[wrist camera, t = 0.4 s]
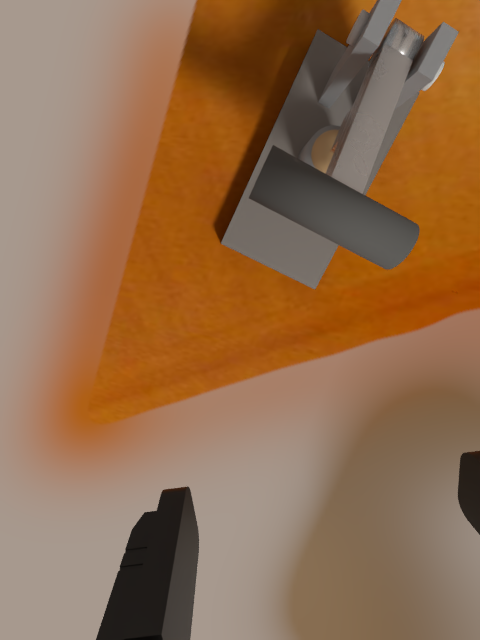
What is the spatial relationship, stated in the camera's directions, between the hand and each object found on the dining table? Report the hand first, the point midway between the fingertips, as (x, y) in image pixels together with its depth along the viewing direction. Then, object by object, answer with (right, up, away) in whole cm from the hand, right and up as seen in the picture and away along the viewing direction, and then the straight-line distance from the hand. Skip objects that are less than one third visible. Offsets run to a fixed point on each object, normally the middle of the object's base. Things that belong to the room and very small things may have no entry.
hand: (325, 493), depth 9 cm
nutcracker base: (+5, +20, +24) cm, 32 cm away
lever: (+5, +17, +14) cm, 23 cm away
